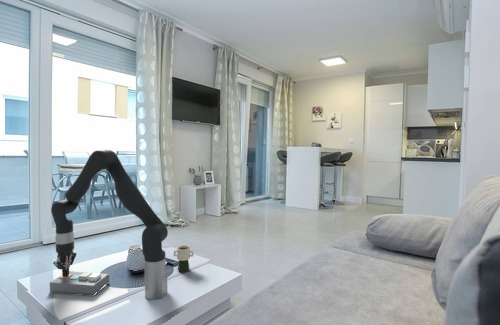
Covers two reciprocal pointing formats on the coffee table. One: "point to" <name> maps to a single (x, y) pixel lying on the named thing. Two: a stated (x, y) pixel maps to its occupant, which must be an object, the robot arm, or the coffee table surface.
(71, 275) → the terracotta key
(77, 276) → the teal key
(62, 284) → the keypad board
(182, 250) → the character mug
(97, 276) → the block
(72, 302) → the coffee table surface
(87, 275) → the grey key
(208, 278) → the coffee table surface
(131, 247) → the soda can
